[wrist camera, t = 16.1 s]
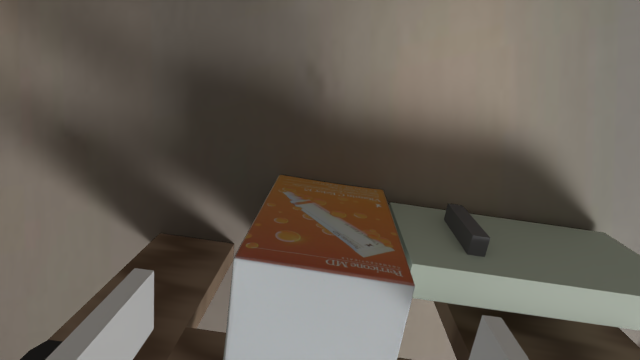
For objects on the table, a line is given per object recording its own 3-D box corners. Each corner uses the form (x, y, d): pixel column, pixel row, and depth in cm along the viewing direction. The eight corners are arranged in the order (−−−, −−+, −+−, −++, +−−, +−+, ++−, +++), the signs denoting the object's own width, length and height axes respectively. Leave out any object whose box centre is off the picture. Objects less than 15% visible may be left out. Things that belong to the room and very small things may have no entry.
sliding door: (384, 226, 29) (404, 296, 20) (392, 187, 28) (417, 242, 19) (594, 256, 29) (705, 339, 20) (610, 217, 28) (732, 287, 19)
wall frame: (159, 251, 31) (26, 392, 18) (159, 231, 30) (21, 361, 17) (575, 311, 31) (754, 498, 17) (582, 291, 30) (773, 470, 17)
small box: (384, 187, 28) (421, 285, 16) (368, 262, 30) (391, 402, 18) (277, 171, 28) (230, 257, 16) (268, 247, 30) (220, 376, 18)
